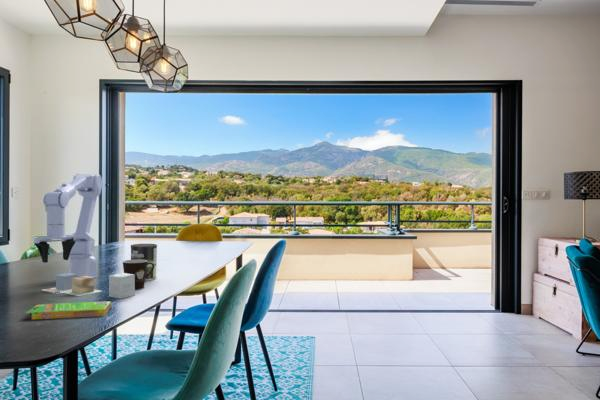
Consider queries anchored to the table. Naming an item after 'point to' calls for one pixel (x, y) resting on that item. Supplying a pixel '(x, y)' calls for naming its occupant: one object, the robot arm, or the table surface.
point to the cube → (64, 281)
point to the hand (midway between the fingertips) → (55, 261)
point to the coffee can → (146, 257)
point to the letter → (56, 290)
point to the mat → (83, 293)
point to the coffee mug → (137, 271)
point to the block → (82, 284)
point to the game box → (70, 310)
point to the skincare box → (121, 285)
